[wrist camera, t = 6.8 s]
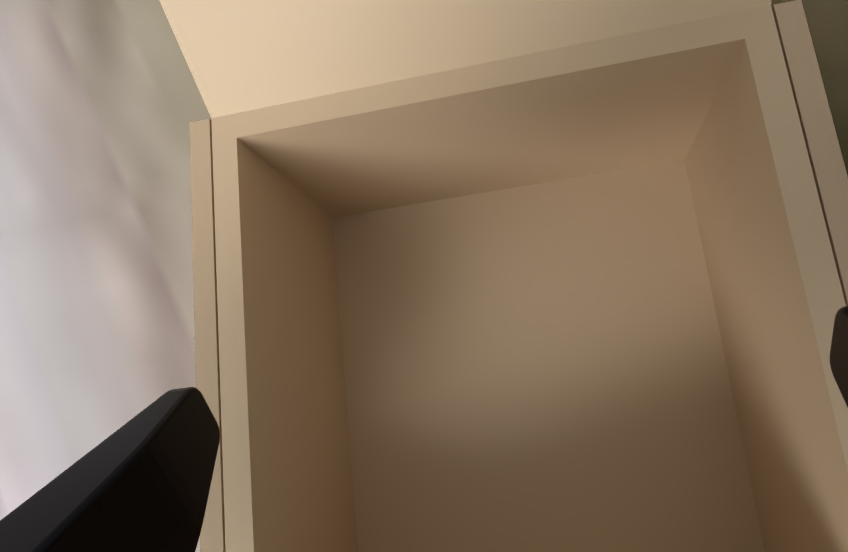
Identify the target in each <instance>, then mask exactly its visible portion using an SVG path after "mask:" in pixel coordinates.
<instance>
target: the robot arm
mask: <svg viewBox="0 0 848 552" xmlns="http://www.w3.org/2000/svg"><path fill="white" fill-rule="evenodd" d="M830 367H831V371H832V374H833V376H834V379H835V381H836V383H837V385H838V388H839V390H840V392H841V394H842V396H843V399H844V401H845V403H846V405H847V408H848V306H844V307H842V308H840V309H839V310H838V311H837V313H836V315H835V319H834V327H833V334H832V341H831V349H830ZM219 441H220V430H219V426H218V423H217V421H216V419H215V417H214V416H213V414H212V412H211V410H210V408H209V406H208V404H207V402H206V400H205V399H204V397H203V395H202V393H201V392H200V391H199V390H198V389H197V388H194V387H188V388H180V389H173V390H170V391H168V392H166V393H165V394H164V395H162V396H161V397H160V398H158V399H157V400H156V401H155V402H153V403H152V404H151V405H149V406H148V407H147V408H145V409H144V410H143V411H142V412H140V413H139V414H138V415H136V416H135V417H134V418H133V419H131V420H130V421H129V422H127V423H126V424H125V425H123V426H122V427H121V428H120V429H118V430H117V431H116V432H114V433H113V434H112V435H111V436H109V437H108V438H107V439H105V440H104V441H103V442H101V443H100V444H99V445H98V446H96V447H95V448H94V449H92V450H91V451H90V452H89V453H87V454H86V455H85V456H83V457H82V458H81V459H79V460H78V461H77V462H76V463H74V464H73V465H72V466H70V467H69V468H68V469H67V470H65V471H64V472H63V473H61V474H60V475H59V476H57V477H56V478H55V479H54V480H52V481H51V482H50V483H48V484H47V485H46V486H45V487H43V488H42V489H41V490H39V491H38V492H37V493H35V494H34V495H33V496H32V497H30V498H29V499H28V500H26V501H25V502H24V503H23V504H21V505H20V506H19V507H17V508H16V509H15V510H13V511H12V512H11V513H10V514H8V515H7V516H6V517H4V518H3V519H2V520H1V521H0V552H195V550H196V547H197V543H198V540H199V536H200V533H201V529H202V524H203V520H204V516H205V511H206V506H207V501H208V496H209V491H210V486H211V481H212V476H213V471H214V466H215V461H216V457H217V452H218V447H219Z"/></svg>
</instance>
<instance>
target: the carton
mask: <svg viewBox="0 0 848 552" xmlns="http://www.w3.org/2000/svg"><path fill="white" fill-rule="evenodd" d="M190 163H191V203H192V243H193V283H194V324H195V364H196V388H197V389H198V390H199V391H200V392H201V393H202V395H203V397H204V399H205V400H206V402H207V404H208V406H209V408H210V410H211V412H212V414H213V416H214V417H215V419H216V421H217V423H218V426H219V430H220V441H219V447H218V452H217V457H216V461H215V466H214V471H213V476H212V481H211V486H210V491H209V496H208V501H207V506H206V511H205V516H204V520H203V524H202V529H201V533H200V552H848V408H847V405H846V403H845V401H844V399H843V396H842V394H841V392H840V390H839V388H838V385H837V383H836V381H835V379H834V376H833V374H832V371H831V367H830V349H831V341H832V334H833V327H834V319H835V315H836V313H837V311H838V310H839V309H840V308H842V307H844V306H848V176H847V172H846V169H845V165H844V161H843V157H842V153H841V149H840V146H839V142H838V138H837V134H836V130H835V127H834V123H833V119H832V115H831V111H830V108H829V104H828V100H827V96H826V92H825V88H824V85H823V81H822V77H821V73H820V69H819V66H818V62H817V58H816V54H815V50H814V46H813V43H812V39H811V35H810V31H809V27H808V24H807V20H806V16H805V12H804V8H803V4H802V1H801V0H794V1H789V2H784V3H779V4H774V5H773V7H771V5H769V6H764V7H759V8H754V9H749V10H744V11H739V12H734V13H730V14H725V15H720V16H715V17H710V18H705V19H700V20H695V21H690V22H685V23H680V24H675V25H670V26H665V27H660V28H655V29H650V30H645V31H640V32H635V33H631V34H626V35H621V36H616V37H611V38H606V39H601V40H596V41H591V42H586V43H581V44H576V45H571V46H566V47H561V48H556V49H551V50H546V51H541V52H536V53H531V54H527V55H522V56H517V57H512V58H507V59H502V60H497V61H492V62H487V63H482V64H477V65H472V66H467V67H462V68H457V69H452V70H447V71H442V72H437V73H432V74H428V75H423V76H418V77H413V78H408V79H403V80H398V81H393V82H388V83H383V84H378V85H373V86H368V87H363V88H358V89H353V90H348V91H343V92H338V93H333V94H329V95H324V96H319V97H314V98H309V99H304V100H299V101H294V102H289V103H284V104H279V105H274V106H269V107H264V108H259V109H254V110H249V111H244V112H239V113H234V114H230V115H225V116H220V117H215V118H211V120H210V119H205V120H200V121H195V122H190Z"/></svg>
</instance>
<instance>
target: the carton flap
mask: <svg viewBox="0 0 848 552" xmlns="http://www.w3.org/2000/svg"><path fill="white" fill-rule="evenodd" d="M159 1H160V3H161V5H162V7H163V10H164V12H165V14H166V16H167V19H168V21H169V23H170V25H171V28H172V30H173V32H174V34H175V37H176V39H177V41H178V44H179V46H180V48H181V50H182V53H183V55H184V57H185V59H186V62H187V64H188V66H189V68H190V71H191V73H192V75H193V77H194V80H195V82H196V84H197V87H198V89H199V91H200V93H201V96H202V98H203V100H204V102H205V105H206V107H207V109H208V111H209V114H210V116H211V118H214V117H219V116H224V115H229V114H234V113H239V112H244V111H249V110H254V109H259V108H264V107H269V106H274V105H279V104H284V103H289V102H294V101H299V100H304V99H309V98H313V97H318V96H323V95H328V94H333V93H338V92H343V91H348V90H353V89H358V88H363V87H368V86H373V85H378V84H383V83H388V82H393V81H398V80H403V79H408V78H412V77H417V76H422V75H427V74H432V73H437V72H442V71H447V70H452V69H457V68H462V67H467V66H472V65H477V64H482V63H487V62H492V61H497V60H502V59H507V58H511V57H516V56H521V55H526V54H531V53H536V52H541V51H546V50H551V49H556V48H561V47H566V46H571V45H576V44H581V43H586V42H591V41H596V40H601V39H606V38H610V37H615V36H620V35H625V34H630V33H635V32H640V31H645V30H650V29H655V28H660V27H665V26H670V25H675V24H680V23H685V22H690V21H695V20H700V19H705V18H709V17H714V16H719V15H724V14H729V13H734V12H739V11H744V10H749V9H754V8H759V7H764V6H769V5H771V0H159Z"/></svg>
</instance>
